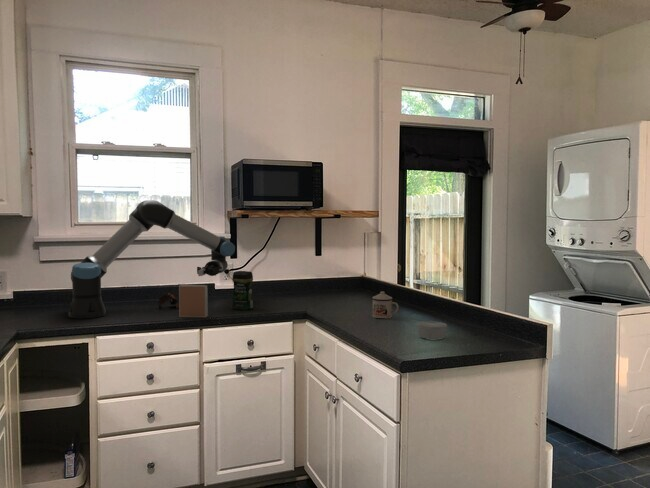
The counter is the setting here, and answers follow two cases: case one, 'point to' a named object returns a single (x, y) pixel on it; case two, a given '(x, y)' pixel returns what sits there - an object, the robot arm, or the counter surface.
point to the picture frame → (193, 301)
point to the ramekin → (431, 329)
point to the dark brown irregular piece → (168, 298)
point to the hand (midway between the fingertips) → (199, 273)
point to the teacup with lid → (383, 306)
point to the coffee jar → (242, 290)
